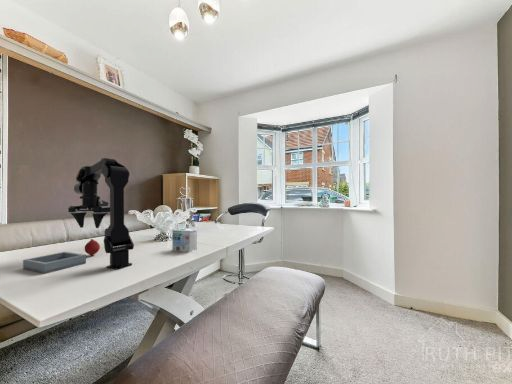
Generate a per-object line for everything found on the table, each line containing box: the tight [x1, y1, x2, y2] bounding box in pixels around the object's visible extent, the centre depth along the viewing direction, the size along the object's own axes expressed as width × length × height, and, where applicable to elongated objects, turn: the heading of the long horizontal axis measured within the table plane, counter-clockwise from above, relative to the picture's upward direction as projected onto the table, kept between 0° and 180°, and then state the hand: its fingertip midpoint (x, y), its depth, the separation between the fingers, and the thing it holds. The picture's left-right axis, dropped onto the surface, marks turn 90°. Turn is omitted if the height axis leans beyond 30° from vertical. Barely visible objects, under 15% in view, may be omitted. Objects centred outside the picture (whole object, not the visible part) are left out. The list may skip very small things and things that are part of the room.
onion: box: [84, 237, 101, 256], centre depth 107 cm, size 6×6×8 cm
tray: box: [22, 251, 87, 275], centre depth 91 cm, size 14×14×4 cm
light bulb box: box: [171, 227, 198, 253], centre depth 119 cm, size 11×7×11 cm, turn 73°
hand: (89, 227), depth 107 cm, fingers open, 9 cm apart
